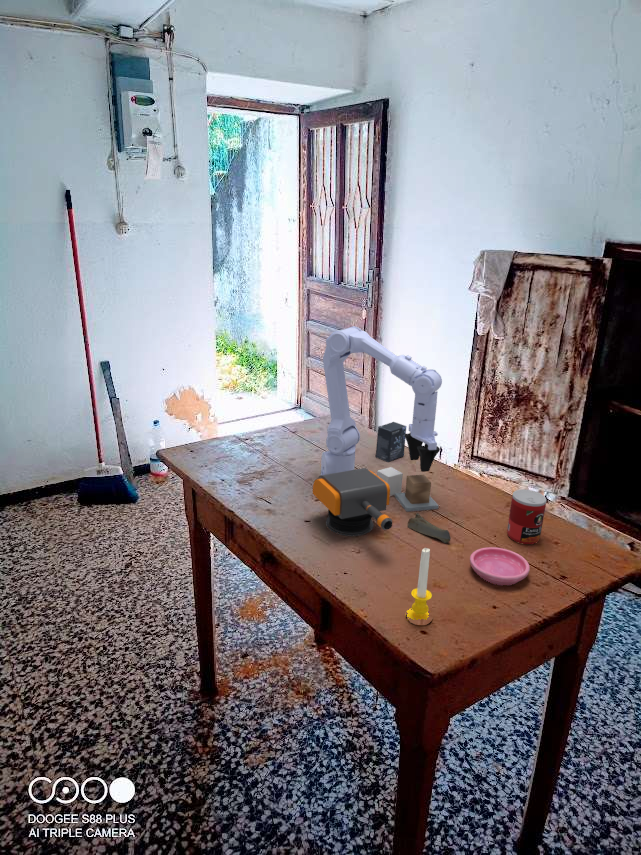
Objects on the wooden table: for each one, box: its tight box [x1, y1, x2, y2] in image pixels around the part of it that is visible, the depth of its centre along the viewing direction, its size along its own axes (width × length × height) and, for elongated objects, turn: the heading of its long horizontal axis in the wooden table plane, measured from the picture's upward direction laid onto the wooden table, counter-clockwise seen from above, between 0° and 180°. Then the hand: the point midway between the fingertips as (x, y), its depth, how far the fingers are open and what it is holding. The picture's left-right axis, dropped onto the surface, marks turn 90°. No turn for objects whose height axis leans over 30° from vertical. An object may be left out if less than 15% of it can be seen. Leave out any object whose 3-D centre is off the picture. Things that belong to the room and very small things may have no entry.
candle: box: [406, 547, 433, 620], centre depth 112 cm, size 5×5×16 cm
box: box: [375, 421, 408, 463], centre depth 189 cm, size 8×6×11 cm
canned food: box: [506, 489, 547, 545], centre depth 143 cm, size 8×8×11 cm
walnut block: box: [404, 474, 432, 504], centre depth 159 cm, size 5×5×6 cm
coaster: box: [394, 491, 439, 513], centre depth 160 cm, size 9×9×1 cm
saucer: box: [469, 546, 531, 586], centre depth 129 cm, size 12×12×3 cm
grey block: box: [376, 466, 404, 497], centre depth 166 cm, size 5×5×6 cm
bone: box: [407, 512, 452, 544], centre depth 145 cm, size 13×5×4 cm, turn 30°
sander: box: [312, 467, 393, 537], centre depth 142 cm, size 15×25×13 cm, turn 25°
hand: (419, 465), depth 158 cm, fingers open, 7 cm apart
